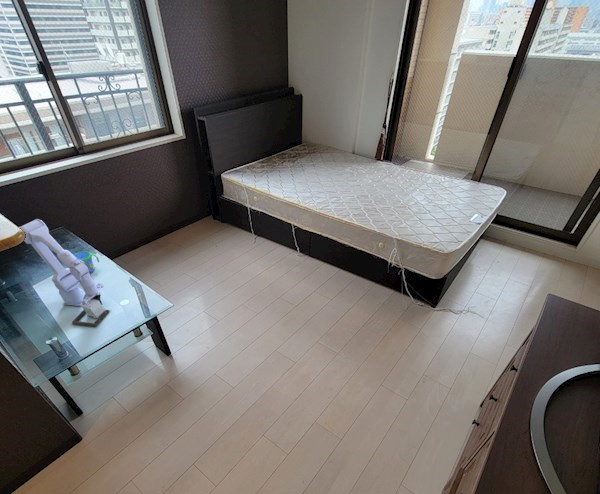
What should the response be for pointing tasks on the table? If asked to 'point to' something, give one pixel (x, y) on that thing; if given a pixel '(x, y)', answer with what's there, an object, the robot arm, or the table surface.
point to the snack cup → (86, 259)
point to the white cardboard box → (93, 308)
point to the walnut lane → (76, 321)
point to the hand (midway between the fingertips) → (99, 306)
